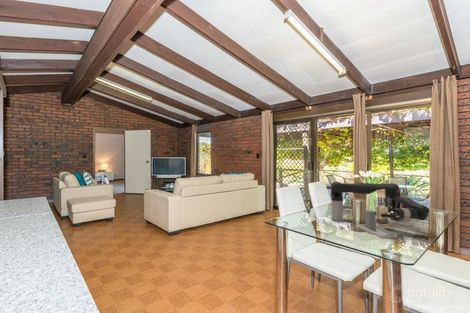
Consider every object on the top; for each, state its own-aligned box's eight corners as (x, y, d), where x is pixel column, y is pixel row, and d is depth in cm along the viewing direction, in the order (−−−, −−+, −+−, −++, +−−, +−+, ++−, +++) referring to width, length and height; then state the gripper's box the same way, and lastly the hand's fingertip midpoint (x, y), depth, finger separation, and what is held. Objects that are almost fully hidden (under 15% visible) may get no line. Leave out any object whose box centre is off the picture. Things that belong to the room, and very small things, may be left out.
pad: (381, 241, 165) (381, 239, 165) (365, 242, 164) (365, 240, 164) (365, 233, 181) (365, 232, 181) (351, 234, 179) (351, 232, 179)
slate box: (375, 230, 185) (375, 211, 184) (369, 230, 184) (369, 211, 184) (371, 228, 190) (371, 209, 189) (365, 228, 189) (364, 210, 189)
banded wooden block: (388, 227, 172) (388, 207, 171) (381, 228, 171) (381, 207, 171) (382, 225, 177) (382, 205, 176) (376, 225, 176) (376, 206, 176)
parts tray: (397, 238, 168) (397, 234, 168) (381, 240, 167) (381, 235, 167) (372, 227, 194) (372, 223, 194) (358, 228, 192) (358, 224, 192)
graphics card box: (401, 220, 212) (401, 188, 212) (392, 220, 213) (391, 188, 213) (392, 215, 229) (392, 185, 228) (384, 215, 230) (384, 185, 230)
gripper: (393, 206, 182) (371, 207, 180) (409, 210, 168) (386, 211, 166) (393, 216, 183) (371, 217, 181) (409, 221, 168) (386, 222, 166)
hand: (378, 214), depth 173 cm, fingers closed on banded wooden block, 5 cm apart
